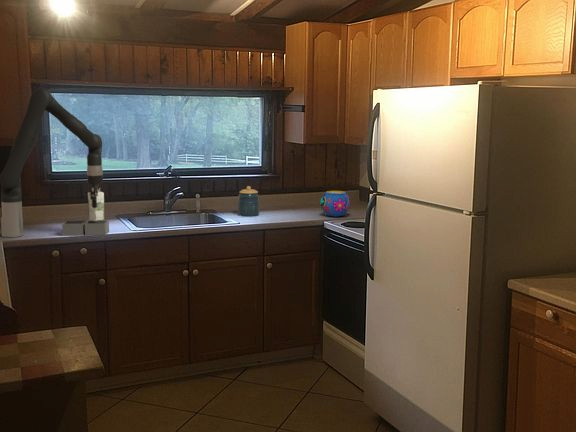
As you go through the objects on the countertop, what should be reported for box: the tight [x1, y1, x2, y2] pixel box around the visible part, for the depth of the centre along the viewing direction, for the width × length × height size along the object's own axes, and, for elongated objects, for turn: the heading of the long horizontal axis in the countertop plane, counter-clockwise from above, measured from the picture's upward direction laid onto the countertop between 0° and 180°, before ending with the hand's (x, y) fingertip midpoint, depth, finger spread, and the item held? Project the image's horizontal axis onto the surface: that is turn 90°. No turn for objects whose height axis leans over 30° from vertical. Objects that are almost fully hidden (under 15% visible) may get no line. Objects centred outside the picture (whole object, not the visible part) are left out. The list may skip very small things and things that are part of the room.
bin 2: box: [84, 219, 110, 237], centre depth 331 cm, size 10×10×6 cm
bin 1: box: [61, 220, 88, 237], centre depth 330 cm, size 10×10×6 cm
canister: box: [237, 185, 260, 217], centre depth 394 cm, size 13×13×18 cm
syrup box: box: [87, 191, 105, 221], centre depth 329 cm, size 6×6×14 cm
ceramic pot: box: [319, 190, 351, 218], centre depth 392 cm, size 18×18×15 cm
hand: (96, 206), depth 329 cm, fingers closed on syrup box, 8 cm apart
